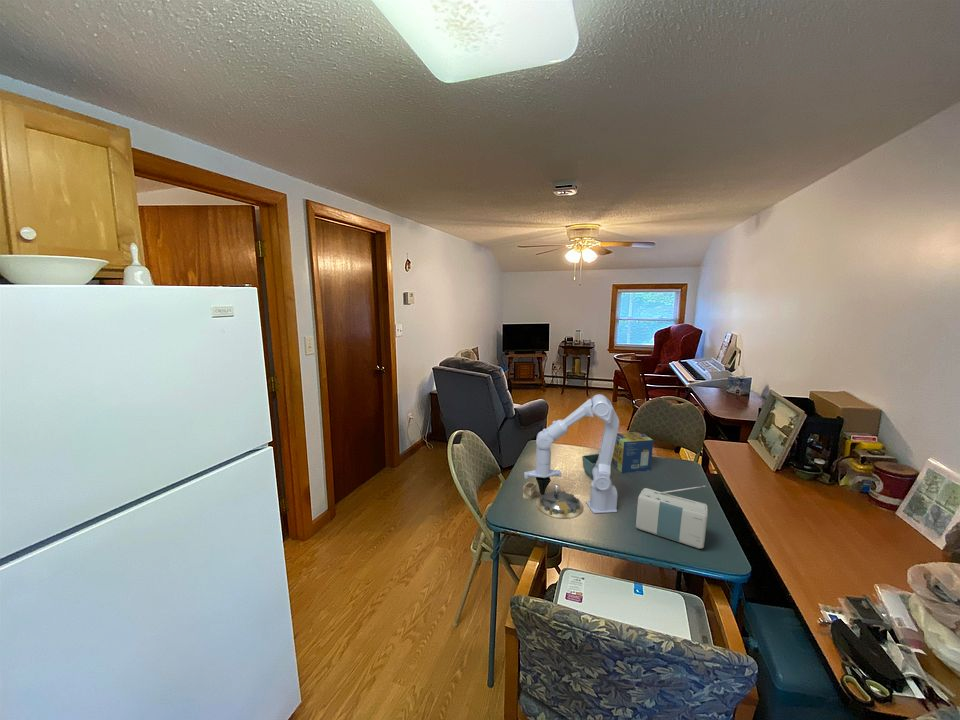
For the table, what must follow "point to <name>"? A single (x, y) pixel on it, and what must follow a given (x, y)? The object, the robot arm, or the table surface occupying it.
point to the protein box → (632, 452)
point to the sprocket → (559, 501)
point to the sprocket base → (560, 516)
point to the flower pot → (589, 463)
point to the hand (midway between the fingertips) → (542, 493)
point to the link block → (529, 490)
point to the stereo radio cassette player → (672, 517)
